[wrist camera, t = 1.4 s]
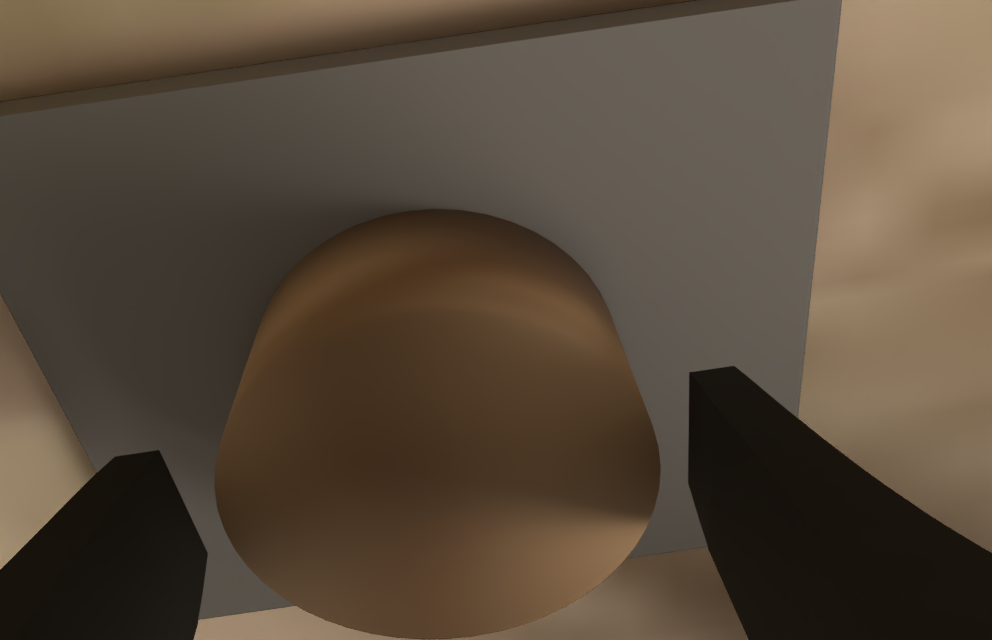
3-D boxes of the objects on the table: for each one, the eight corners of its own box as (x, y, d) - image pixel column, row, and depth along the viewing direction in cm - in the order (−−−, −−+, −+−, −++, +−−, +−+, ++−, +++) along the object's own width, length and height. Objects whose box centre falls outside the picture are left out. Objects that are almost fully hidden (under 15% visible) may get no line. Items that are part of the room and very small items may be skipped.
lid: (608, 181, 11) (657, 277, 9) (623, 479, 14) (662, 609, 12) (205, 240, 11) (145, 350, 9) (306, 525, 14) (283, 663, 12)
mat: (816, -18, 11) (842, -7, 10) (770, 505, 16) (785, 535, 15) (-55, 110, 11) (-88, 129, 10) (187, 589, 16) (176, 622, 15)
